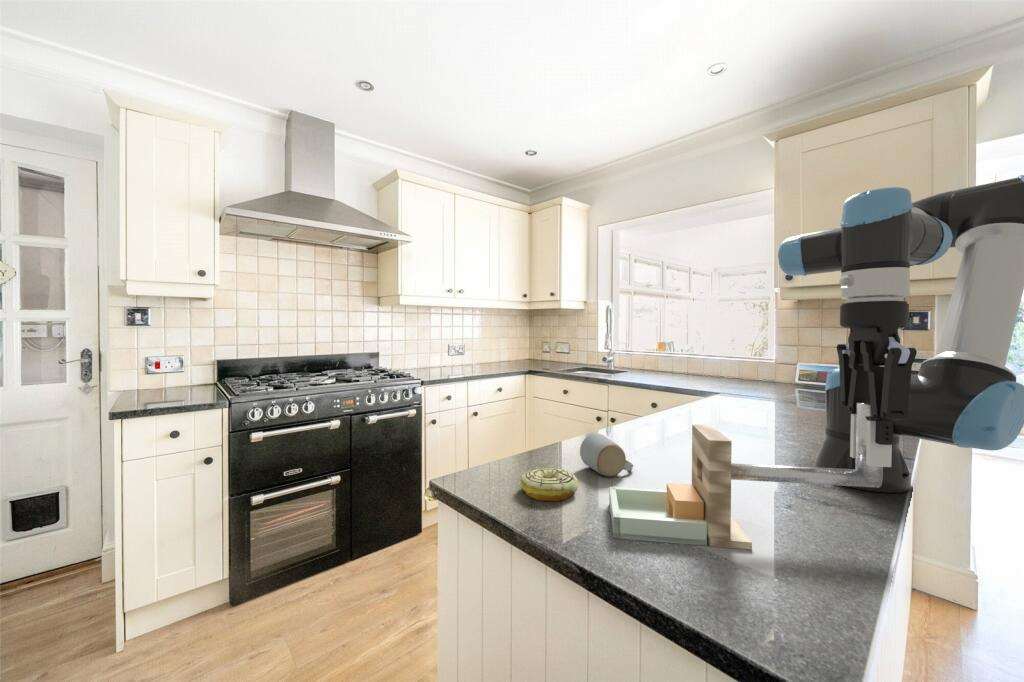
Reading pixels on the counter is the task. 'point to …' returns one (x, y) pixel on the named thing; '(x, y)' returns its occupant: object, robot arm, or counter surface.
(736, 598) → the counter surface
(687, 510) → the block
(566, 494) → the decorated donut
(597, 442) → the ceramic mug
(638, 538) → the tray
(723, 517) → the bracket
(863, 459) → the grey l-shaped bar
